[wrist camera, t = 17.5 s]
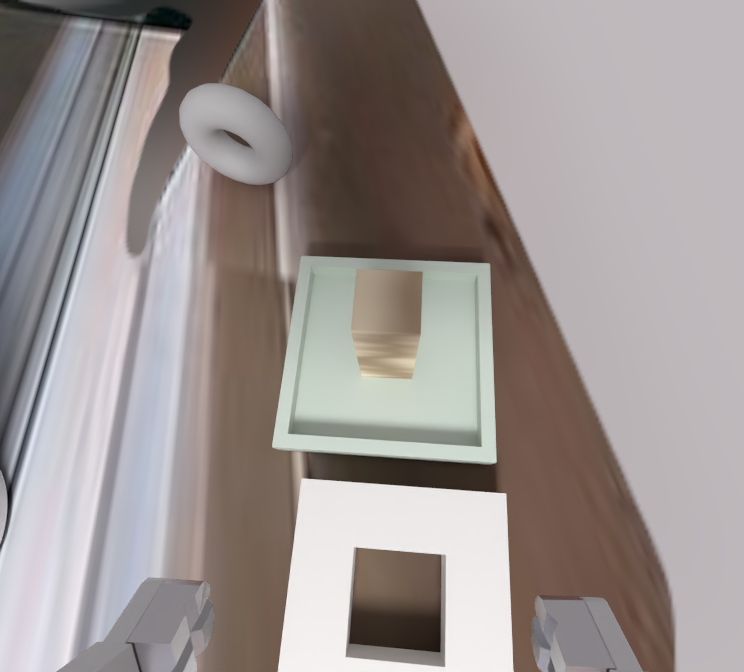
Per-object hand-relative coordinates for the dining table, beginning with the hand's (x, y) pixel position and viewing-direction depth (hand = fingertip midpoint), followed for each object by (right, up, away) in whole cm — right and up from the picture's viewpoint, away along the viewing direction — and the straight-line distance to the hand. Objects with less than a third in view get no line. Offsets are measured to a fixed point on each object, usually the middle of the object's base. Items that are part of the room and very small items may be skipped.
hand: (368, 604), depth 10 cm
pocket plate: (+2, -11, +18) cm, 21 cm away
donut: (-12, +22, +32) cm, 41 cm away
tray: (+1, +5, +24) cm, 25 cm away
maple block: (+1, +5, +23) cm, 24 cm away
